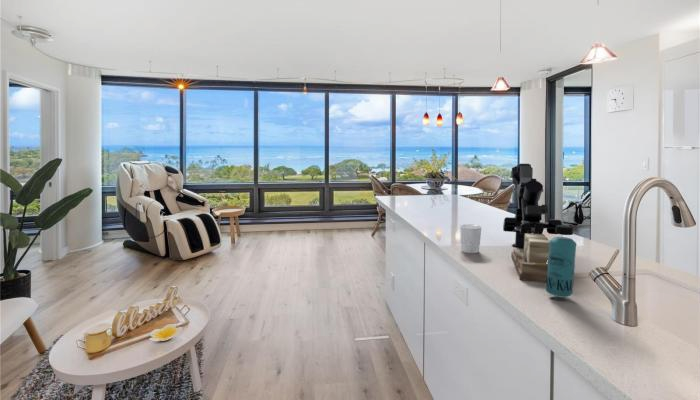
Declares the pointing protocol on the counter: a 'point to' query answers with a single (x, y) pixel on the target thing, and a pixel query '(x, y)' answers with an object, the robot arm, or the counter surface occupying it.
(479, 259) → the counter surface
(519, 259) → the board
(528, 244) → the tea box
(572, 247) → the beverage bottle
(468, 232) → the white cup
